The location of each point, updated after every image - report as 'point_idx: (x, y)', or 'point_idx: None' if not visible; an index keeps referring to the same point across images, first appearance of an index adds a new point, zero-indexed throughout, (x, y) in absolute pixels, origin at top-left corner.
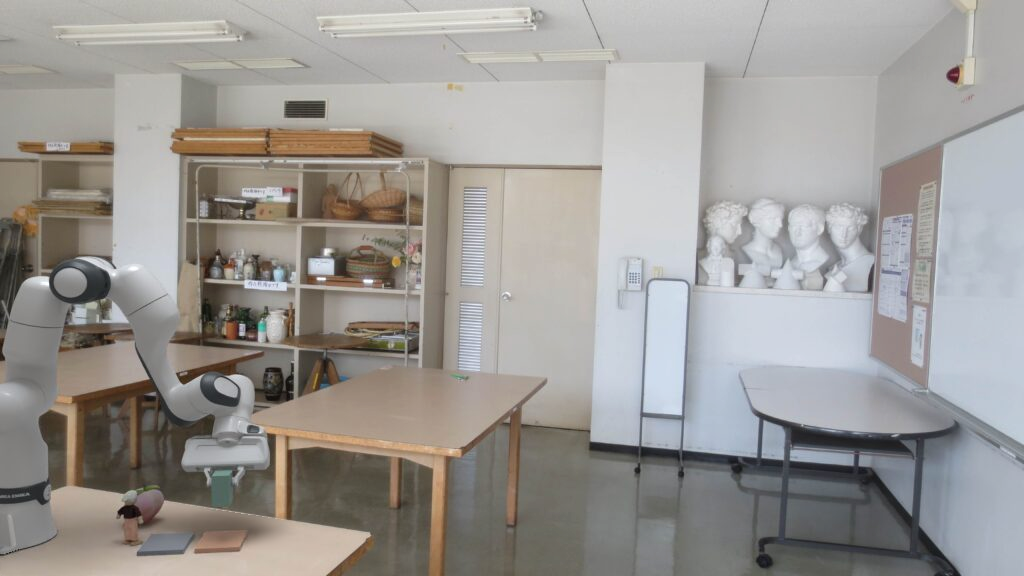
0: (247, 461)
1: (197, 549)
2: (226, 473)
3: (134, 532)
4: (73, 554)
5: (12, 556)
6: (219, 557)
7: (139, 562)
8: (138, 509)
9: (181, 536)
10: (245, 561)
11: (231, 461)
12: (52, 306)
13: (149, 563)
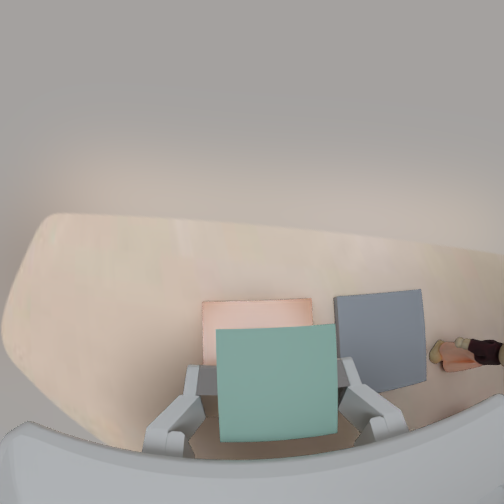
0: (106, 460)
1: (304, 299)
2: (246, 377)
3: (453, 343)
4: (493, 298)
5: None
6: (243, 272)
7: (399, 260)
8: (483, 347)
9: (364, 372)
10: (180, 246)
11: (228, 478)
12: None
13: (381, 254)
